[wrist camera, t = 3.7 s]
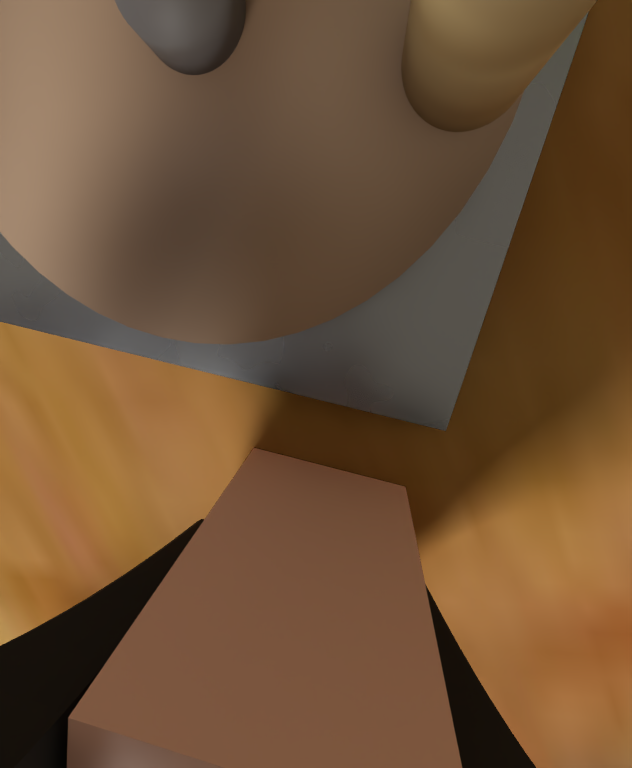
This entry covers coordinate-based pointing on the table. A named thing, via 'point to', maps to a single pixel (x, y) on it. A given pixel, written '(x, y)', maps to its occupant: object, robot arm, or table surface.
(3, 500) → the table surface
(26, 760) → the robot arm
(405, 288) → the crank base
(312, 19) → the crank
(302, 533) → the block
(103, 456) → the table surface
